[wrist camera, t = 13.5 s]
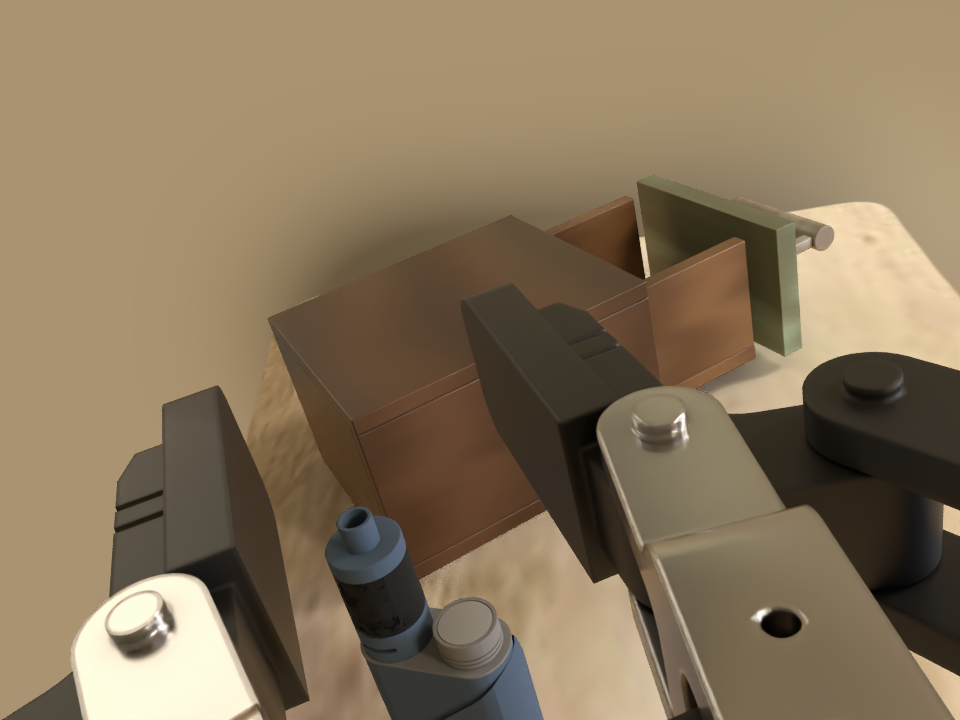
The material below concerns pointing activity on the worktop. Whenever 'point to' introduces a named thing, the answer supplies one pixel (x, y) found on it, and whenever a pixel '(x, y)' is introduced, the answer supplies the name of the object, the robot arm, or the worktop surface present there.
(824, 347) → the worktop surface
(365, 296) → the cabinet
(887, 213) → the worktop surface
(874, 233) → the worktop surface
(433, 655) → the vaping device
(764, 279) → the drawer
